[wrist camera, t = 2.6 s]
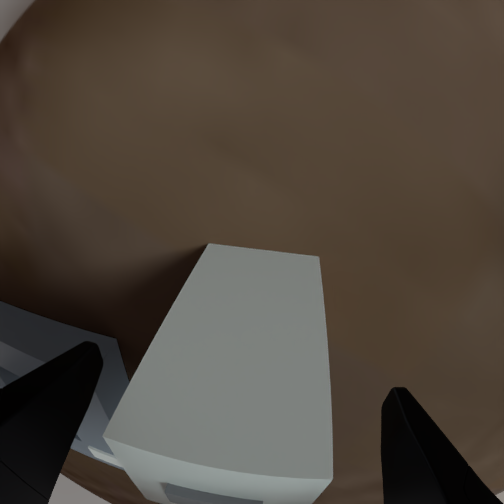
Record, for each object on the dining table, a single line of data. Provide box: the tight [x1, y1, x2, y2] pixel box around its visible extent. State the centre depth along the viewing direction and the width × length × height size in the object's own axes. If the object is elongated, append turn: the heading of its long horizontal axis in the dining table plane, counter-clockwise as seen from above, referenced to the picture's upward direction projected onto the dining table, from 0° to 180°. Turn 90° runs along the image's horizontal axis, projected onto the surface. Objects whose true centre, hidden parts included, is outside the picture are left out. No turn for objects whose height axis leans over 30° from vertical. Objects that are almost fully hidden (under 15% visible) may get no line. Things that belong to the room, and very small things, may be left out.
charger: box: [103, 244, 333, 504], centre depth 8 cm, size 4×4×8 cm
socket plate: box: [0, 301, 129, 470], centre depth 16 cm, size 14×12×3 cm
